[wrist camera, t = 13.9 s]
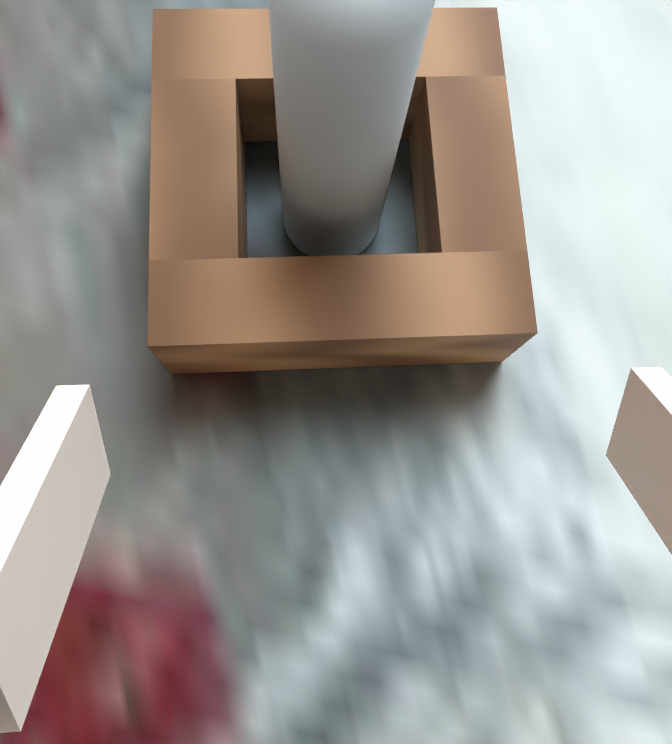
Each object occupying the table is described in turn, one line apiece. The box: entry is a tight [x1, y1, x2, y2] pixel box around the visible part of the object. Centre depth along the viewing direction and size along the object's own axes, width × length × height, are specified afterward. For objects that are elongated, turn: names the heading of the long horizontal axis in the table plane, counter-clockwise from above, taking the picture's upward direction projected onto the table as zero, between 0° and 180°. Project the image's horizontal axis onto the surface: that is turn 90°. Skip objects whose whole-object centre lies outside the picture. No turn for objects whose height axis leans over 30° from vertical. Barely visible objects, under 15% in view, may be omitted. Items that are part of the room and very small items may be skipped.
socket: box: [147, 8, 537, 374], centre depth 25 cm, size 13×13×4 cm
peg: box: [268, 0, 435, 256], centre depth 21 cm, size 4×4×12 cm
